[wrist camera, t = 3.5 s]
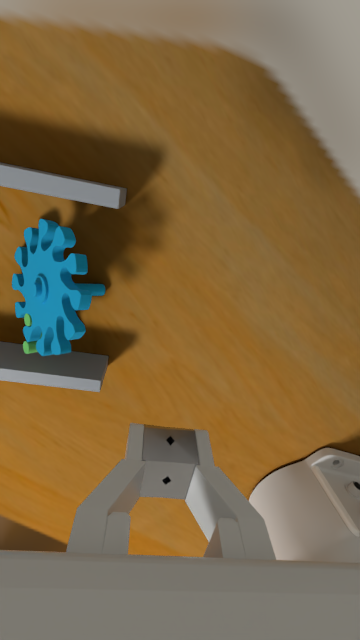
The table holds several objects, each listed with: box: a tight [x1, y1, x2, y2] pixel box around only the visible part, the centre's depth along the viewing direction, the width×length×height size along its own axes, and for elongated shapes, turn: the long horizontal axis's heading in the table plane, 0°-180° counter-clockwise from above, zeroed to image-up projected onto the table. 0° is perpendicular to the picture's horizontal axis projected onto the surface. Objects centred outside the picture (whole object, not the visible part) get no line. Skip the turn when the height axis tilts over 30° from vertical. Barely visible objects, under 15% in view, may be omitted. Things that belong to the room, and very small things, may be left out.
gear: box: [12, 219, 105, 356], centre depth 24 cm, size 11×6×10 cm
